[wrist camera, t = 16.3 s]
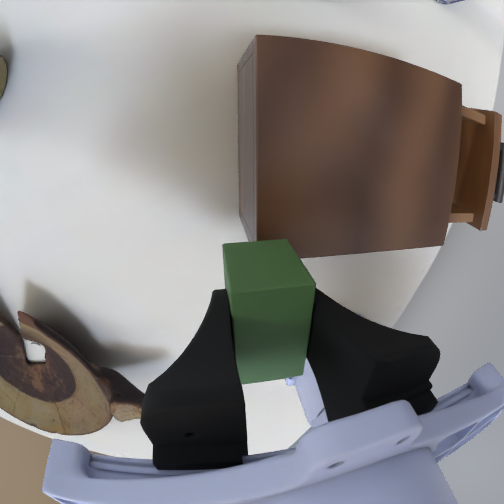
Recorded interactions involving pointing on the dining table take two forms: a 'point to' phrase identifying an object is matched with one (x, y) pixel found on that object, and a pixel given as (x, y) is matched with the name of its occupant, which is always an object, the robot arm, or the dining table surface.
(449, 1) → the energy drink
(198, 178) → the dining table surface
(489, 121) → the drawer
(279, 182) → the cabinet
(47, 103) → the dining table surface
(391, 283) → the dining table surface
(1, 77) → the squeeze bottle
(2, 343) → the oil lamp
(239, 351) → the block
